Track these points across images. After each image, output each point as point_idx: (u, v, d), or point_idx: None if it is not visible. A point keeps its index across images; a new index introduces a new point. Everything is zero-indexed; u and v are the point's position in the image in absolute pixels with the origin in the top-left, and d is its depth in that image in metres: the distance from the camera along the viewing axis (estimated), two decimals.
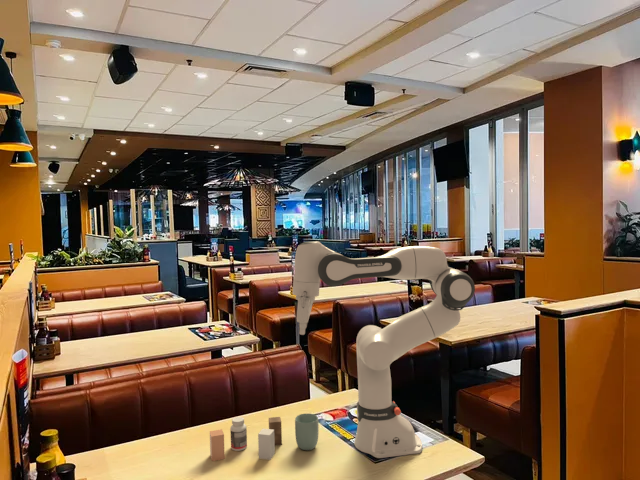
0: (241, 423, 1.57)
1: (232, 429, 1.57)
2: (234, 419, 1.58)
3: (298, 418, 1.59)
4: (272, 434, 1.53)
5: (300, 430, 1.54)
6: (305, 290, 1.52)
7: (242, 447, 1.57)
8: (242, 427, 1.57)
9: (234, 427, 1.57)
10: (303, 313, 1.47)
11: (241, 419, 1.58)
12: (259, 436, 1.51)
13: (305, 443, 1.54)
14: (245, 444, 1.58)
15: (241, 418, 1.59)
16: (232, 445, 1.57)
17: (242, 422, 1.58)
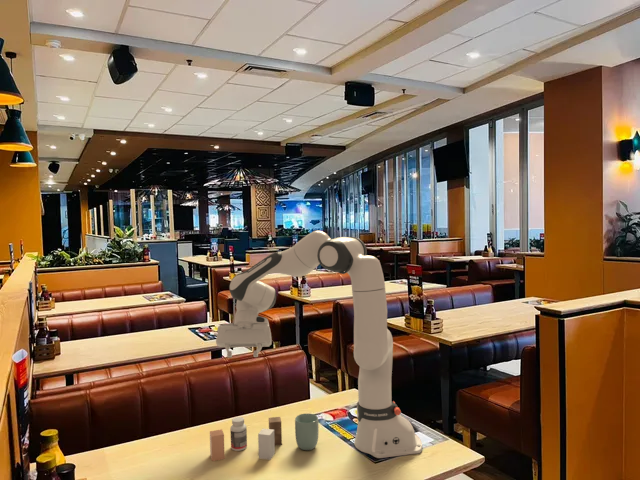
0: (241, 423, 1.57)
1: (232, 429, 1.57)
2: (234, 419, 1.58)
3: (298, 418, 1.59)
4: (272, 434, 1.53)
5: (300, 430, 1.54)
6: (234, 322, 1.79)
7: (242, 447, 1.57)
8: (242, 427, 1.57)
9: (234, 427, 1.57)
10: None
11: (241, 419, 1.58)
12: (259, 436, 1.51)
13: (305, 443, 1.54)
14: (245, 444, 1.58)
15: (241, 418, 1.59)
16: (232, 445, 1.57)
17: (242, 422, 1.58)
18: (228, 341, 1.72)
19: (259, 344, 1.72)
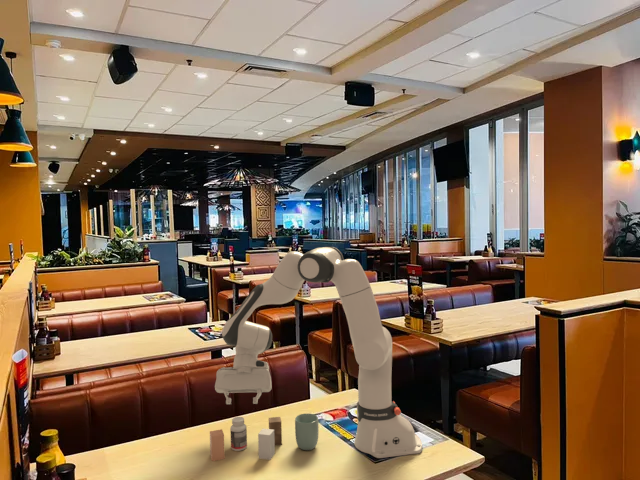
0: (241, 423, 1.57)
1: (232, 429, 1.57)
2: (234, 419, 1.58)
3: (298, 418, 1.59)
4: (272, 434, 1.53)
5: (300, 430, 1.54)
6: None
7: (242, 447, 1.57)
8: (242, 427, 1.57)
9: (234, 427, 1.57)
10: None
11: (241, 419, 1.58)
12: (259, 436, 1.51)
13: (305, 443, 1.54)
14: (245, 444, 1.58)
15: (241, 418, 1.59)
16: (232, 445, 1.57)
17: (242, 422, 1.58)
18: (227, 387, 1.69)
19: (259, 390, 1.68)
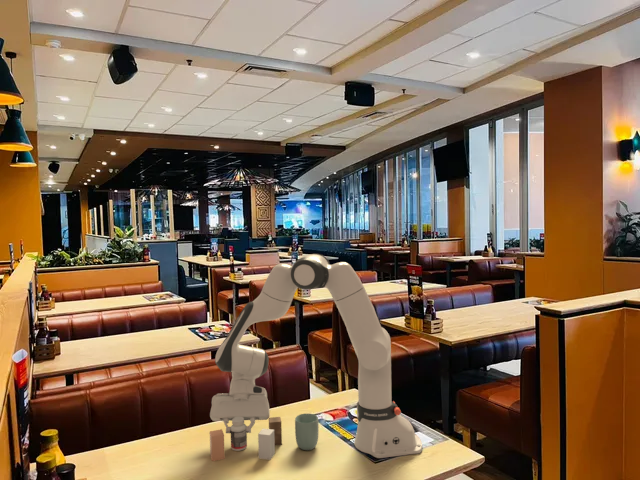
0: (241, 423, 1.57)
1: (232, 429, 1.57)
2: (234, 419, 1.58)
3: (298, 418, 1.59)
4: (272, 434, 1.53)
5: (300, 430, 1.54)
6: None
7: (242, 447, 1.57)
8: (242, 427, 1.57)
9: (234, 427, 1.57)
10: None
11: (241, 419, 1.58)
12: (259, 436, 1.51)
13: (305, 443, 1.54)
14: (245, 444, 1.58)
15: (241, 418, 1.59)
16: (232, 445, 1.57)
17: (242, 422, 1.58)
18: (223, 415, 1.60)
19: (252, 418, 1.60)
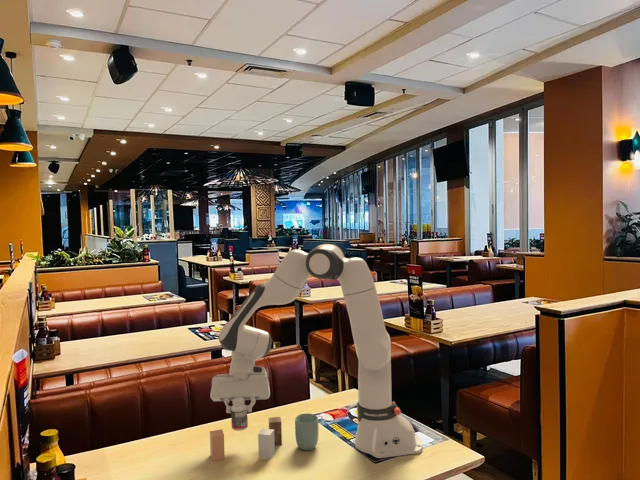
0: (241, 403, 1.57)
1: (232, 409, 1.57)
2: (234, 399, 1.58)
3: (298, 418, 1.59)
4: (272, 434, 1.53)
5: (300, 430, 1.54)
6: (229, 373, 1.67)
7: (243, 427, 1.56)
8: (242, 407, 1.57)
9: (234, 407, 1.57)
10: None
11: (241, 399, 1.58)
12: (259, 436, 1.51)
13: (305, 443, 1.54)
14: (246, 424, 1.58)
15: (241, 398, 1.59)
16: (233, 425, 1.57)
17: (242, 402, 1.57)
18: (223, 395, 1.60)
19: (253, 397, 1.60)
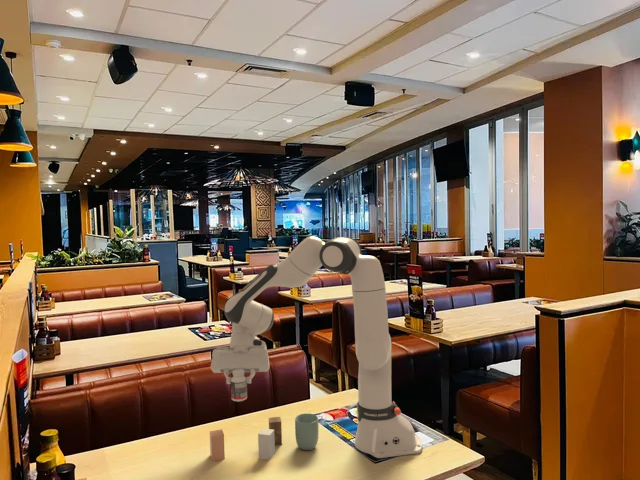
0: (241, 374, 1.60)
1: (232, 380, 1.60)
2: (234, 371, 1.61)
3: (298, 418, 1.59)
4: (272, 434, 1.53)
5: (300, 430, 1.54)
6: (230, 346, 1.70)
7: (242, 398, 1.60)
8: (242, 378, 1.60)
9: (234, 378, 1.60)
10: None
11: (241, 370, 1.61)
12: (259, 436, 1.51)
13: (305, 443, 1.54)
14: (245, 395, 1.61)
15: (241, 370, 1.62)
16: (232, 396, 1.60)
17: (242, 373, 1.60)
18: (223, 366, 1.63)
19: (252, 369, 1.63)
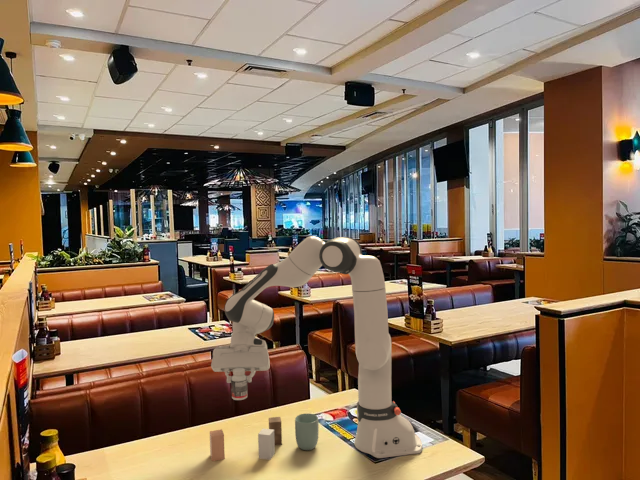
0: (242, 373, 1.60)
1: (233, 379, 1.60)
2: (235, 369, 1.62)
3: (298, 418, 1.59)
4: (272, 434, 1.53)
5: (300, 430, 1.54)
6: None
7: (243, 396, 1.60)
8: (243, 377, 1.61)
9: (235, 377, 1.60)
10: None
11: (242, 369, 1.62)
12: (259, 436, 1.51)
13: (305, 443, 1.54)
14: (245, 394, 1.61)
15: (242, 369, 1.62)
16: (233, 394, 1.60)
17: (243, 372, 1.61)
18: (224, 365, 1.64)
19: (253, 368, 1.63)
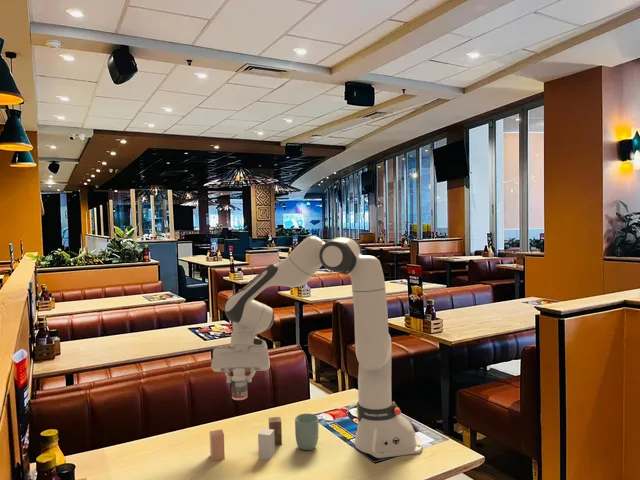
0: (242, 373, 1.60)
1: (233, 379, 1.60)
2: (235, 369, 1.62)
3: (298, 418, 1.59)
4: (272, 434, 1.53)
5: (300, 430, 1.54)
6: None
7: (243, 396, 1.60)
8: (243, 377, 1.61)
9: (235, 377, 1.60)
10: None
11: (242, 369, 1.62)
12: (259, 436, 1.51)
13: (305, 443, 1.54)
14: (245, 394, 1.61)
15: (242, 369, 1.62)
16: (233, 394, 1.60)
17: (243, 372, 1.61)
18: (224, 365, 1.64)
19: (253, 368, 1.63)
